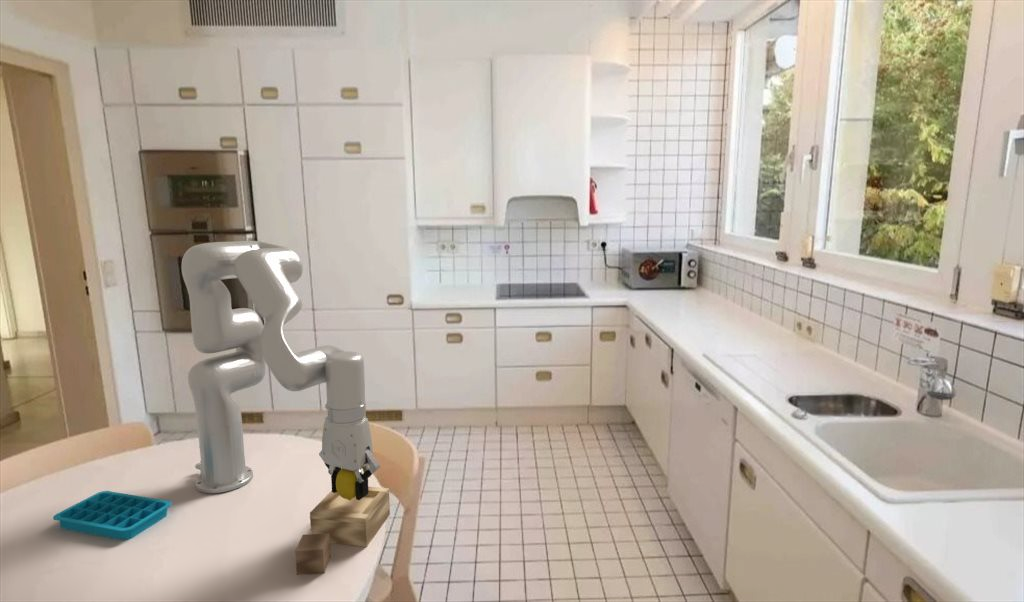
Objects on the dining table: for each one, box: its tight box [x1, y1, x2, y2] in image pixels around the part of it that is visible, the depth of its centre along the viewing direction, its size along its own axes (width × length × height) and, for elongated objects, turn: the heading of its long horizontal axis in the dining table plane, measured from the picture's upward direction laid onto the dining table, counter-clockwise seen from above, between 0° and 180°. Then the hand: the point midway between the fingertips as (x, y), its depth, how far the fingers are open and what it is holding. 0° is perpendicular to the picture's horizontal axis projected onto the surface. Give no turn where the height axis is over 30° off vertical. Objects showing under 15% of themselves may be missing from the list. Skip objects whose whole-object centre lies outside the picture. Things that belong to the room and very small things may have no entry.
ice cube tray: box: [52, 490, 173, 541], centre depth 117 cm, size 12×20×3 cm, turn 76°
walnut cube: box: [294, 533, 332, 576], centre depth 102 cm, size 5×5×5 cm
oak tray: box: [309, 486, 391, 548], centre depth 115 cm, size 12×12×6 cm
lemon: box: [336, 468, 358, 500], centre depth 113 cm, size 6×6×8 cm
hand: (350, 492), depth 114 cm, fingers open, 5 cm apart
